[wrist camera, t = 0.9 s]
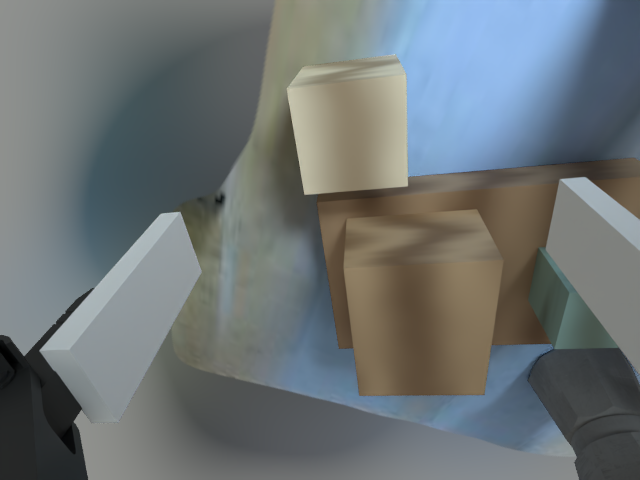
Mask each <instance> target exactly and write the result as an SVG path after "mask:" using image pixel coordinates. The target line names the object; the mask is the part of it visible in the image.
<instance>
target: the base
mask: <svg viewBox="0 0 640 480" xmlns="http://www.w3.org/2000/svg"><path fill="white" fill-rule="evenodd" d="M579 177H586V178H587V179H588V180H590V181H591V182H592V183H593V184H595V185H596V186H597V187H599V188H600V189H601V190H602V191H604V192H605V193H606V194H607V195H609V196H610V197H611V198H613V199H614V200H615V201H616V202H618V203H619V204H620V205H621V206H623V207H624V208H625V209H627V210H628V211H629V212H630V213H632V214H633V215H634V216H635V217H637V218H638V219H639V220H640V161H639V160H637V159H635V158H624V159H613V160H601V161H589V162H578V163H566V164H554V165H542V166H531V167H519V168H507V169H496V170H484V171H472V172H461V173H449V174H437V175H425V176H414V177H408V186H406V187H394V188H382V189H370V190H357V191H345V192H333V193H321V194H318V198H317V208H318V215H319V221H320V228H321V235H322V241H323V248H324V254H325V261H326V267H327V274H328V280H329V287H330V293H331V300H332V307H333V313H334V320H335V326H336V333H337V339H338V346H339V349H347V348H354V356H355V364H356V372H357V380H358V389H359V396H390V395H484V393H485V386H486V379H487V372H488V365H489V358H490V351H491V345H518V344H552V346H553V348H554V349H590V348H619V347H618V345H617V344H616V343H615V341H614V340H613V339H612V338H611V336H610V335H609V334H608V332H607V331H606V330H605V328H604V327H603V326H602V324H601V323H600V322H599V320H598V319H597V318H596V316H595V315H594V314H593V312H592V311H591V310H590V308H589V307H588V306H587V304H586V303H585V302H584V300H583V299H582V298H581V296H580V295H579V294H578V292H577V291H576V290H575V288H574V287H573V286H572V284H571V283H570V282H569V280H568V279H567V278H566V276H565V275H564V274H563V272H562V271H561V270H560V268H559V267H558V266H557V264H556V263H555V262H554V260H553V259H552V258H551V256H550V255H549V254H548V252H547V251H546V245H547V240H548V235H549V230H550V225H551V220H552V215H553V210H554V205H555V200H556V195H557V190H558V185H559V180H560V179H567V178H579Z"/></svg>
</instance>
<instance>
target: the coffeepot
mask: <svg viewBox="0 0 640 480" xmlns="http://www.w3.org/2000/svg"><path fill="white" fill-rule="evenodd" d="M528 382H529V383H530V385H531V386H532V388H533V389H534V391H535V392H536V394H537V395H538V397H539V399H540V400H541V402H542V403H543V405H544V406H545V408H546V409H547V411H548V412H549V414H550V415H551V417H552V418H553V420H554V421H555V423H556V425H557V426H558V428H559V429H560V431H561V432H562V434H563V435H564V437H565V438H566V440H567V441H568V442H569V444H570V445H571V446H572V447H573V449H574V452H575V454H576V456H577V459H576V460H575V466H576V470H577V473H578V477H579V480H640V384H639V382H638V380H637V378H636V376H635V374H634V371H633V369H632V367H631V366H630V364H629V363H628V361H627V360H626V358H625V356H624V355H623V353H622V352H621V350H620V349H619V348H590V349H553V350H551V351H549V352H548V353H546V354H545V355H543V356H542V357H540V358H539V359H538V360H537V362H536V363H535V364H534V366H533V368H532V370H531V375H530V377H529V379H528Z"/></svg>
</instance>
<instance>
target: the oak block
mask: <svg viewBox="0 0 640 480" xmlns="http://www.w3.org/2000/svg"><path fill="white" fill-rule="evenodd" d="M287 94H288V100H289V106H290V112H291V118H292V124H293V129H294V135H295V141H296V147H297V153H298V159H299V165H300V171H301V177H302V183H303V189H304V194H305V195H309V194H321V193H333V192H345V191H357V190H370V189H382V188H394V187H406V186H408V154H407V82H406V73H405V71H404V69H403V67H402V65H401V63H400V61H399V60H398V58H397V56H396V54H394V55H387V56H379V57H372V58H364V59H356V60H349V61H341V62H333V63H326V64H318V65H310V66H303V68H302V69H301V70H300V72H299V73H298V74H297V76H296V77H295V78H294V80H293V81H292V83H291V84H290V85H289V87H288V88H287Z"/></svg>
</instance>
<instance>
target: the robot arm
mask: <svg viewBox="0 0 640 480" xmlns="http://www.w3.org/2000/svg"><path fill="white" fill-rule="evenodd" d="M546 251H547V252H548V254H549V255H550V256H551V258H552V259H553V260H554V262H555V263H556V264H557V266H558V267H559V268H560V270H561V271H562V272H563V274H564V275H565V276H566V278H567V279H568V280H569V282H570V283H571V284H572V286H573V287H574V288H575V290H576V291H577V292H578V294H579V295H580V296H581V298H582V299H583V300H584V302H585V303H586V304H587V306H588V307H589V308H590V310H591V311H592V312H593V314H594V315H595V316H596V318H597V319H598V320H599V322H600V323H601V324H602V326H603V327H604V328H605V330H606V331H607V332H608V334H609V335H610V336H611V338H612V339H613V340H614V341H615V343H616V344H617V345H618V347H619V348H620V349H621V351H622V352H623V353H624V355H625V356H626V357H627V359H628V360H629V361H630V363H631V364H632V365H633V367H634V368H635V369H636V371H637V372H638V373H639V375H640V220H639V219H638V218H637V217H635V216H634V215H633V214H632V213H630V212H629V211H628V210H627V209H625V208H624V207H623V206H621V205H620V204H619V203H618V202H616V201H615V200H614V199H613V198H611V197H610V196H609V195H607V194H606V193H605V192H604V191H602V190H601V189H600V188H599V187H597V186H596V185H595V184H593V183H592V182H591V181H590V180H588V179H587V178H586V177H579V178H567V179H560V180H559V185H558V190H557V195H556V200H555V205H554V210H553V215H552V220H551V225H550V230H549V235H548V240H547V245H546ZM201 272H202V271H201V268H200V266H199V263H198V260H197V257H196V254H195V252H194V249H193V246H192V243H191V240H190V238H189V235H188V232H187V229H186V227H185V224H184V221H183V218H182V215H181V213H180V212H175V213H164V214H160V215H159V216H158V218H157V219H156V220H155V221H154V222H153V223H152V224H151V225H150V227H149V228H148V229H147V230H146V231H145V232H144V233H143V234H142V236H141V237H140V238H139V239H138V240H137V241H136V242H135V244H134V245H133V246H132V247H131V248H130V249H129V250H128V251H127V253H126V254H125V255H124V256H123V257H122V258H121V259H120V260H119V262H118V263H117V264H116V265H115V266H114V267H113V268H112V269H111V271H110V272H109V273H108V274H107V275H106V276H105V277H104V279H103V280H102V281H101V282H100V283H99V284H98V285H97V286H96V287H95V288H92V289H90V290H89V291H88V292H86V293H85V294H83V295H82V296H81V297H79V298H78V299H77V300H76V301H75V302H74V303H73V304H72V305H71V306H70V307H69V308H68V309H67V311H66V313H65V314H63V315H62V316H61V317H60V318H59V319H58V320H57V321H56V324H54V325H53V326H52V327H51V328H50V329H49V330H48V331H47V332H46V333H45V334H44V335H43V337H42V338H41V339H40V340H39V341H38V342H37V343H36V344H35V345H34V346H33V347H32V349H31V350H30V351H29V352H28V353H27V354H26V355H25V356H23V355H22V353H21V352H20V351H19V349H18V348H17V347H16V345H15V344H14V343H13V342H12V340H11V339H10V338H9V337H8V336H4V335H0V480H88V476H87V471H86V466H85V460H84V455H83V449H82V444H81V438H80V433H79V429H78V428H77V426H76V424H75V423H74V422H73V421H74V420H75V418H76V417H77V415H78V414H79V412H80V411H81V409H82V411H83V412H84V413H85V415H86V416H87V418H88V419H89V420H90V422H91V423H118V422H119V421H120V419H121V417H122V415H123V413H124V411H125V410H126V408H127V406H128V404H129V402H130V401H131V399H132V397H133V395H134V393H135V392H136V390H137V388H138V386H139V384H140V383H141V381H142V379H143V377H144V375H145V374H146V372H147V370H148V368H149V366H150V364H151V363H152V361H153V359H154V357H155V355H156V354H157V352H158V350H159V348H160V346H161V345H162V343H163V341H164V339H165V337H166V336H167V334H168V332H169V330H170V328H171V327H172V325H173V323H174V321H175V319H176V317H177V316H178V314H179V312H180V310H181V308H182V307H183V305H184V303H185V301H186V299H187V298H188V296H189V294H190V292H191V290H192V289H193V287H194V285H195V283H196V281H197V280H198V278H199V276H200V274H201Z"/></svg>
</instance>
